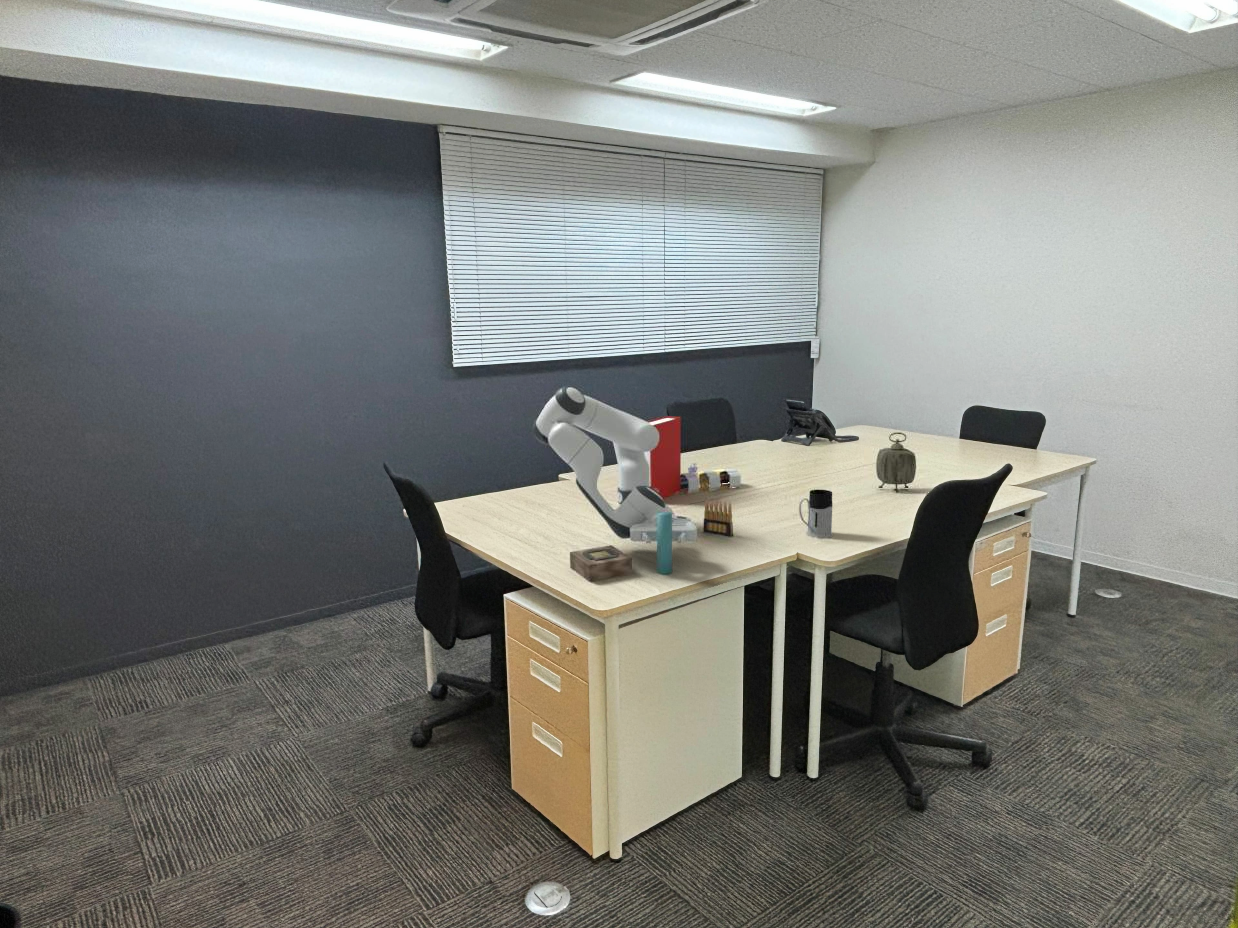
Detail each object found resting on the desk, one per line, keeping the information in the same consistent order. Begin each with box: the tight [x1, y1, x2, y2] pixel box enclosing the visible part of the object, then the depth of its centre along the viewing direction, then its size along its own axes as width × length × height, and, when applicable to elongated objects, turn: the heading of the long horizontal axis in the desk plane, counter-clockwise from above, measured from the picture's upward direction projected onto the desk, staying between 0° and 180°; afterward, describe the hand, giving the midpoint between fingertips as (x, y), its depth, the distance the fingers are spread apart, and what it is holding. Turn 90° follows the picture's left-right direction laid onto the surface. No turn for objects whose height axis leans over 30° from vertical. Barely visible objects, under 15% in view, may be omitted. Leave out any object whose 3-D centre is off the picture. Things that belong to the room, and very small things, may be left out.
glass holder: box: [798, 489, 833, 539], centre depth 261 cm, size 9×14×15 cm, turn 122°
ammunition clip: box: [702, 498, 734, 538], centre depth 266 cm, size 11×2×12 cm, turn 56°
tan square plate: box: [589, 551, 611, 558], centre depth 230 cm, size 5×5×1 cm
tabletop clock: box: [875, 431, 917, 492], centre depth 322 cm, size 14×9×25 cm, turn 84°
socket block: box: [569, 545, 633, 582], centre depth 230 cm, size 14×14×5 cm
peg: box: [656, 512, 673, 576], centre depth 227 cm, size 4×4×18 cm
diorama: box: [681, 462, 742, 494], centre depth 334 cm, size 25×10×13 cm, turn 111°
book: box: [644, 415, 682, 500], centre depth 320 cm, size 27×8×32 cm, turn 149°
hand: (664, 540), depth 226 cm, fingers open, 8 cm apart
